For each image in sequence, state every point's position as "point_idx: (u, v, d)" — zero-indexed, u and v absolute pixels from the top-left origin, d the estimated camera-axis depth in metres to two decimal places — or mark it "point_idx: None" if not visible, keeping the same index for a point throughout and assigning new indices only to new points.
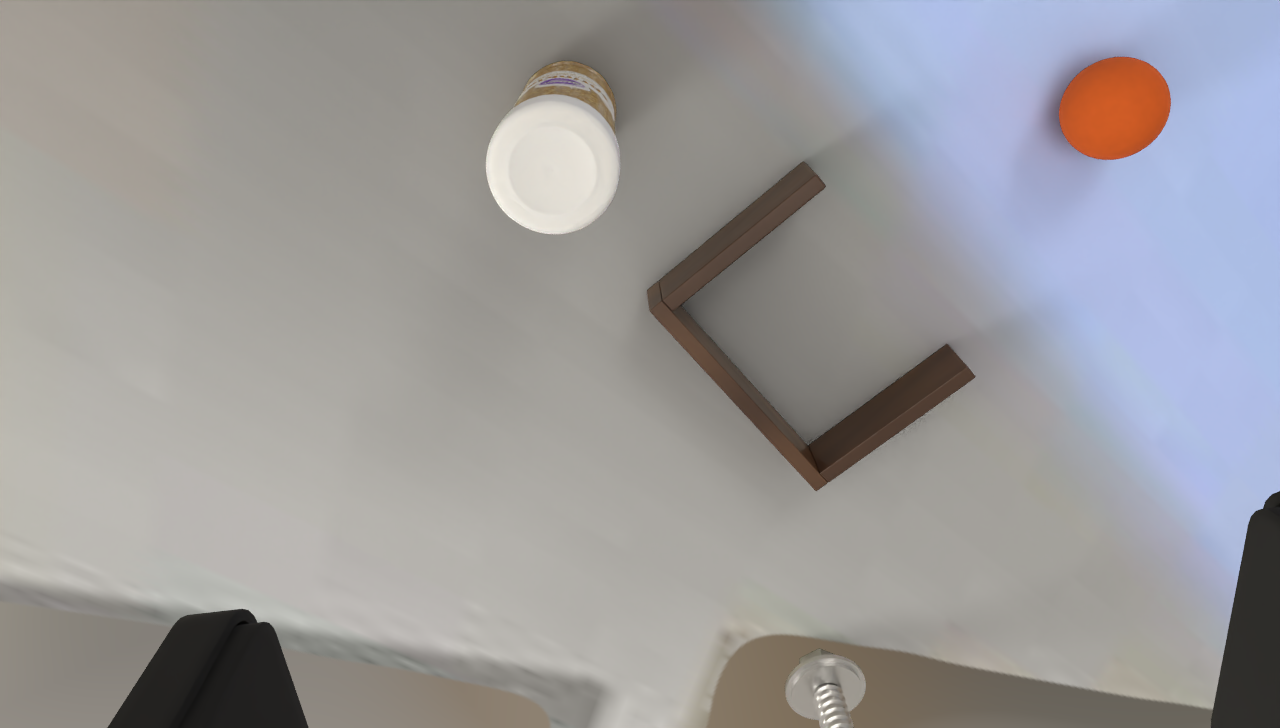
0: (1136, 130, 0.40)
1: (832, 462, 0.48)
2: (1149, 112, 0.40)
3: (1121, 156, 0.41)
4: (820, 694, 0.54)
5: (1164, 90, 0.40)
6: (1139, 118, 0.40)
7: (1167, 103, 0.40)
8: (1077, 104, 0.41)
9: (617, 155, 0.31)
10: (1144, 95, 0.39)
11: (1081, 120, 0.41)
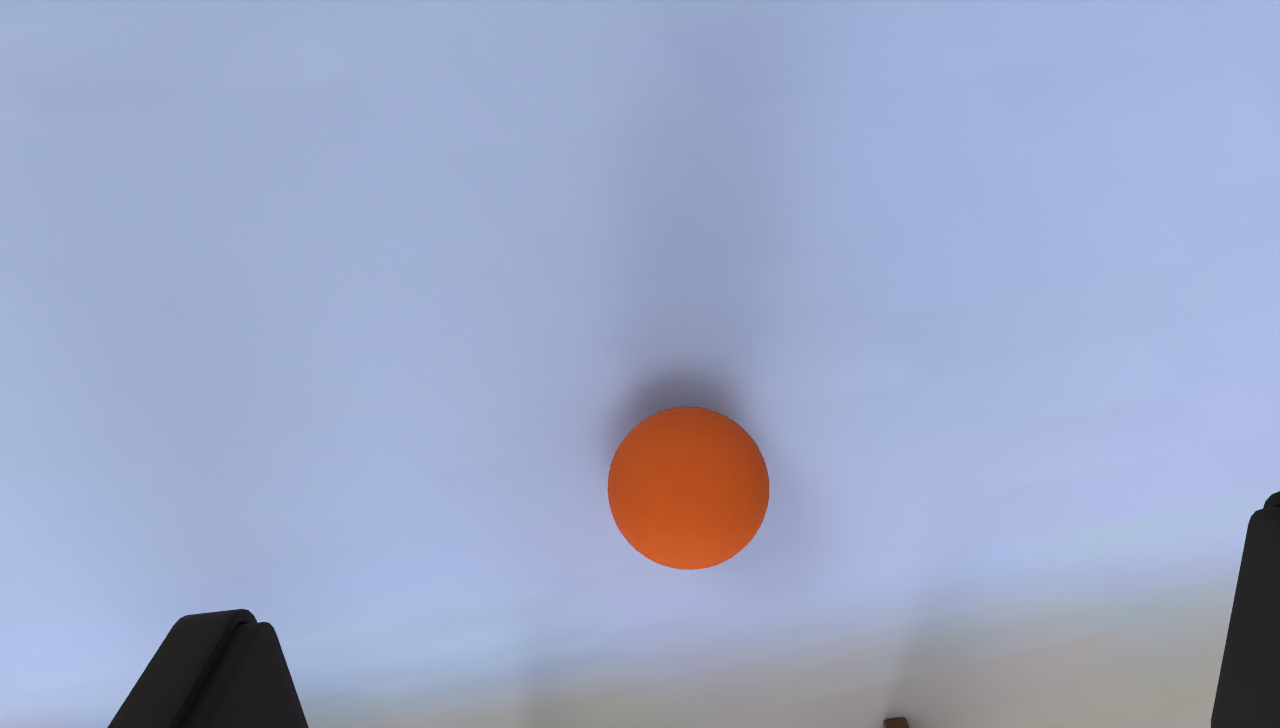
0: (715, 540, 0.24)
1: None
2: (700, 517, 0.23)
3: (753, 536, 0.25)
4: None
5: (689, 468, 0.24)
6: (699, 534, 0.24)
7: (711, 471, 0.24)
8: None
9: None
10: (670, 510, 0.23)
11: (661, 564, 0.25)
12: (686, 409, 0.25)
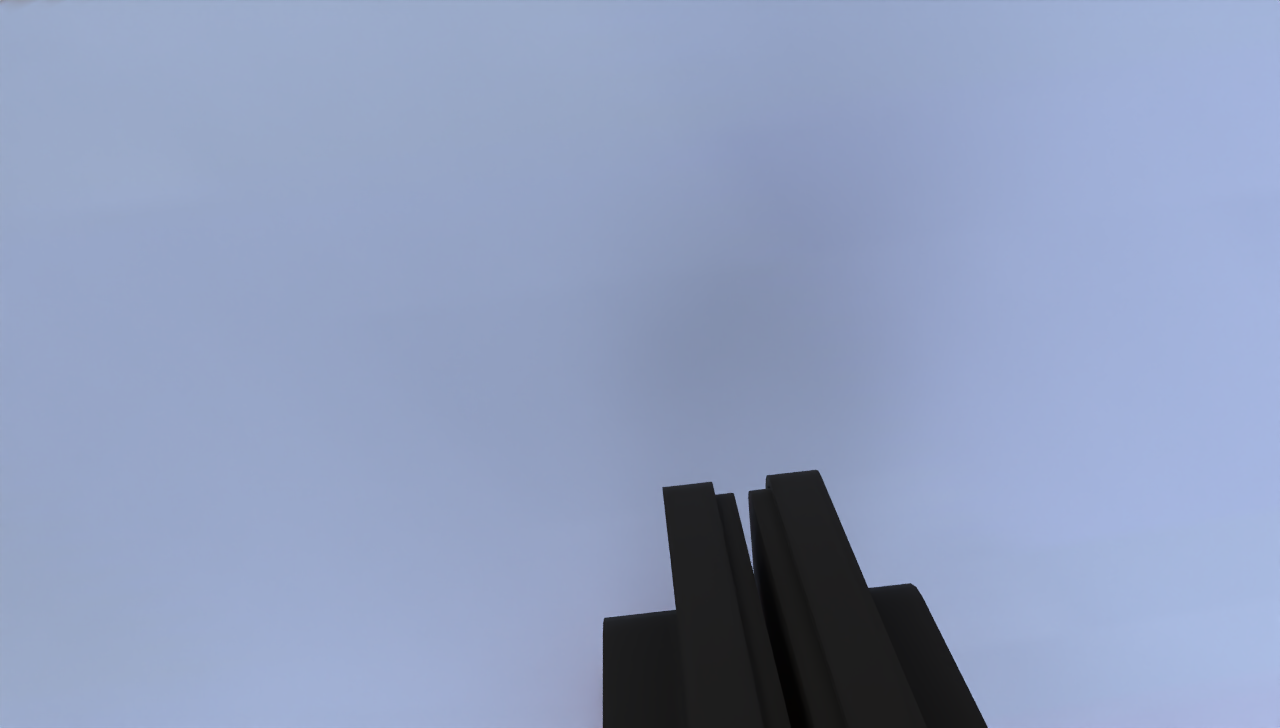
0: None
1: None
2: None
3: None
4: None
5: None
6: None
7: None
8: None
9: None
10: None
11: None
12: None
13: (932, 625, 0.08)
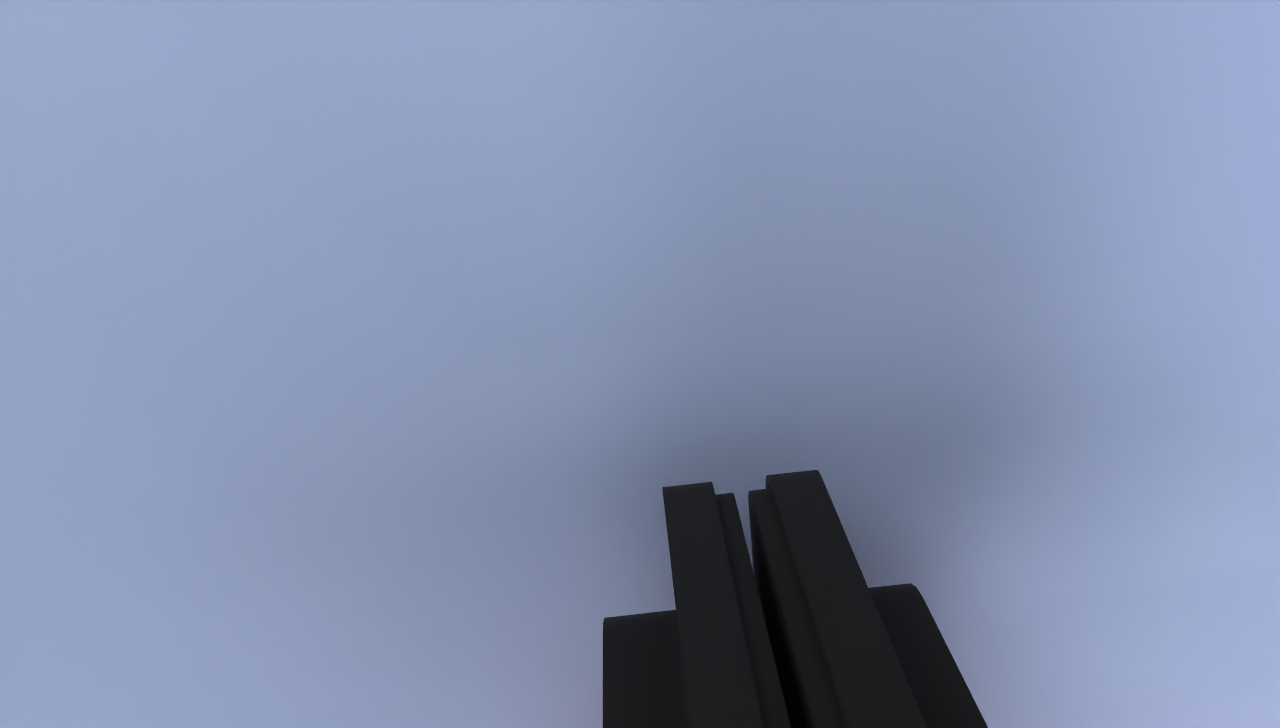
0: None
1: None
2: None
3: None
4: None
5: None
6: None
7: None
8: None
9: None
10: None
11: None
12: None
13: (932, 625, 0.08)
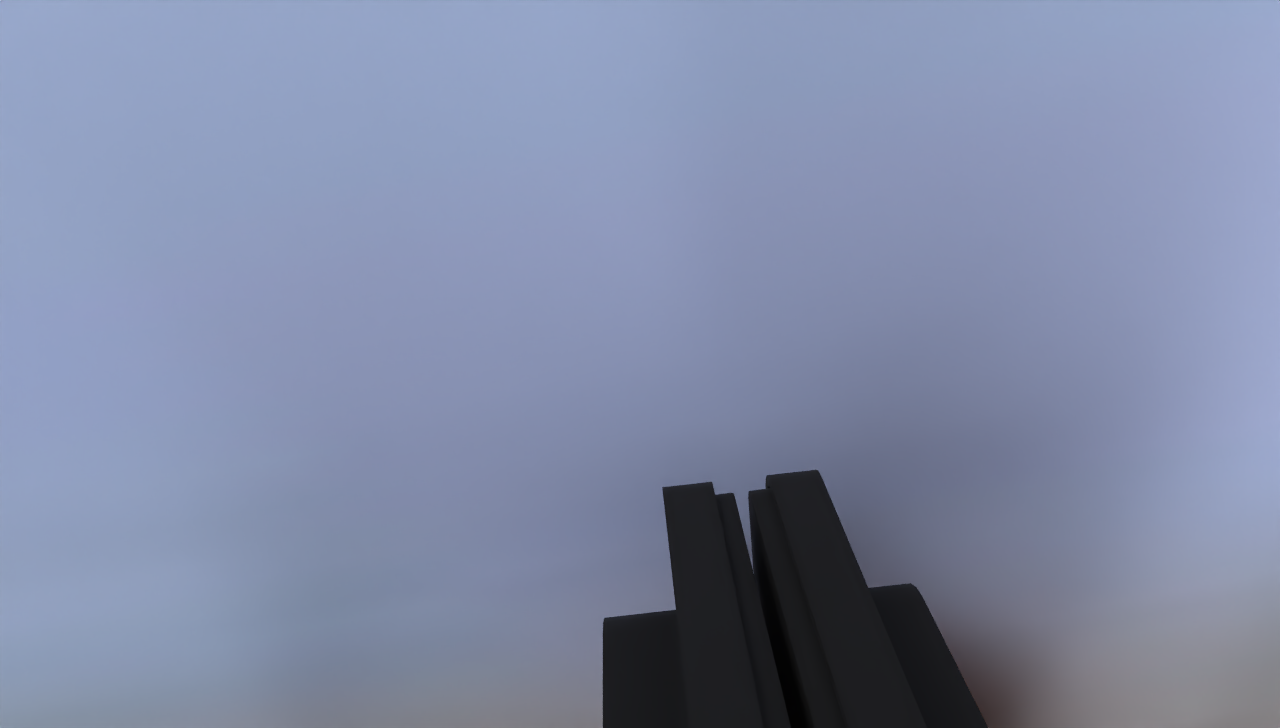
0: None
1: None
2: None
3: None
4: None
5: None
6: None
7: None
8: None
9: None
10: None
11: None
12: None
13: (932, 623, 0.08)
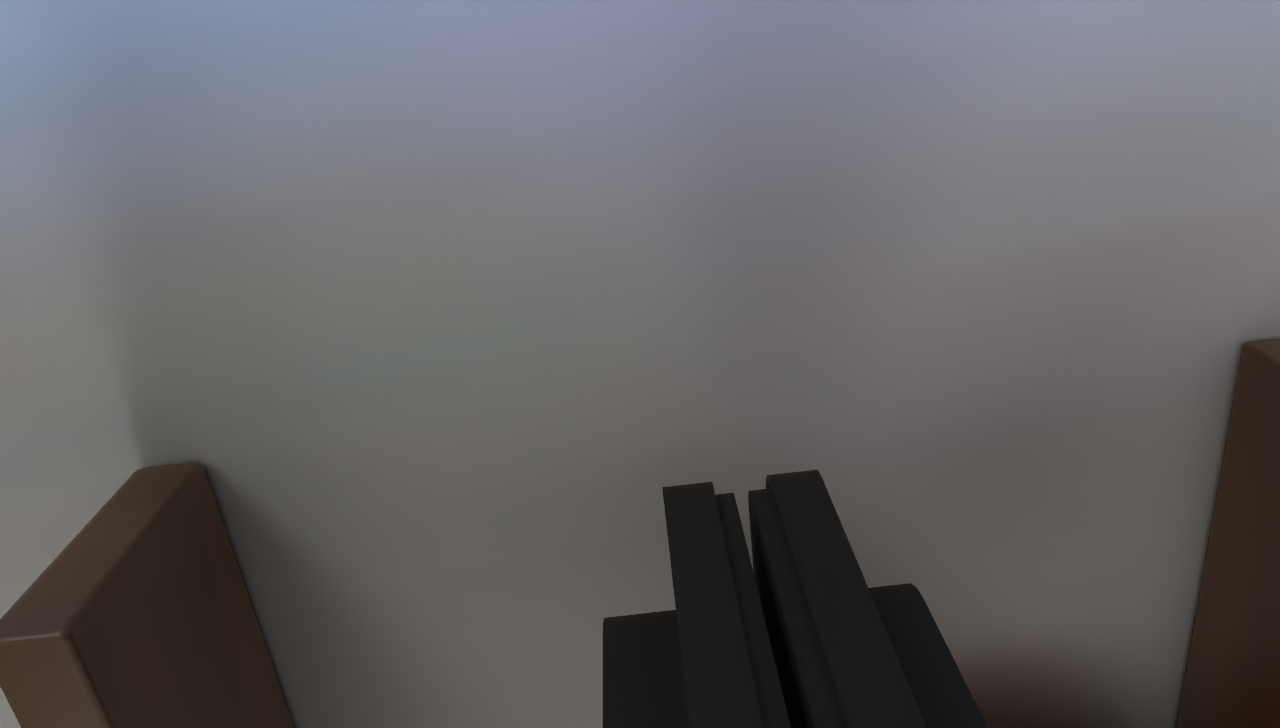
0: None
1: None
2: None
3: None
4: None
5: None
6: None
7: None
8: None
9: None
10: None
11: None
12: None
13: (933, 625, 0.08)
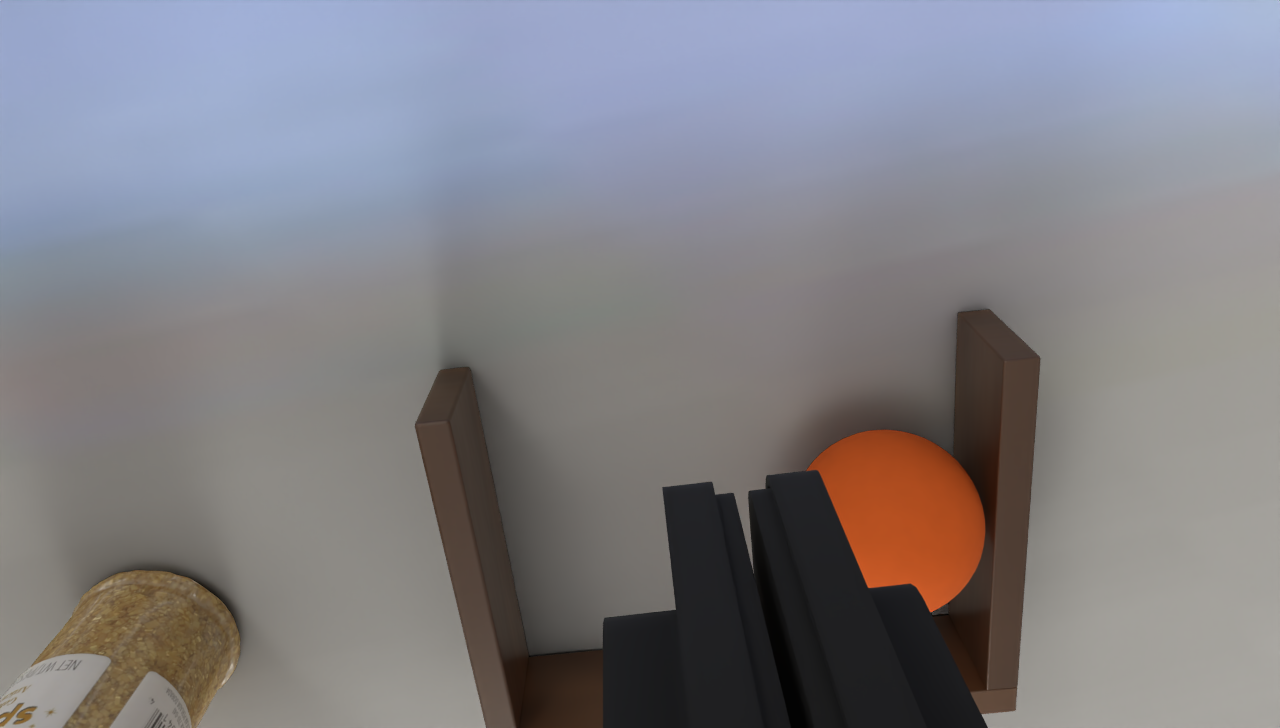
0: None
1: (986, 661, 0.23)
2: None
3: None
4: None
5: (941, 598, 0.21)
6: None
7: (958, 591, 0.21)
8: None
9: None
10: None
11: None
12: (943, 507, 0.20)
13: (932, 625, 0.08)
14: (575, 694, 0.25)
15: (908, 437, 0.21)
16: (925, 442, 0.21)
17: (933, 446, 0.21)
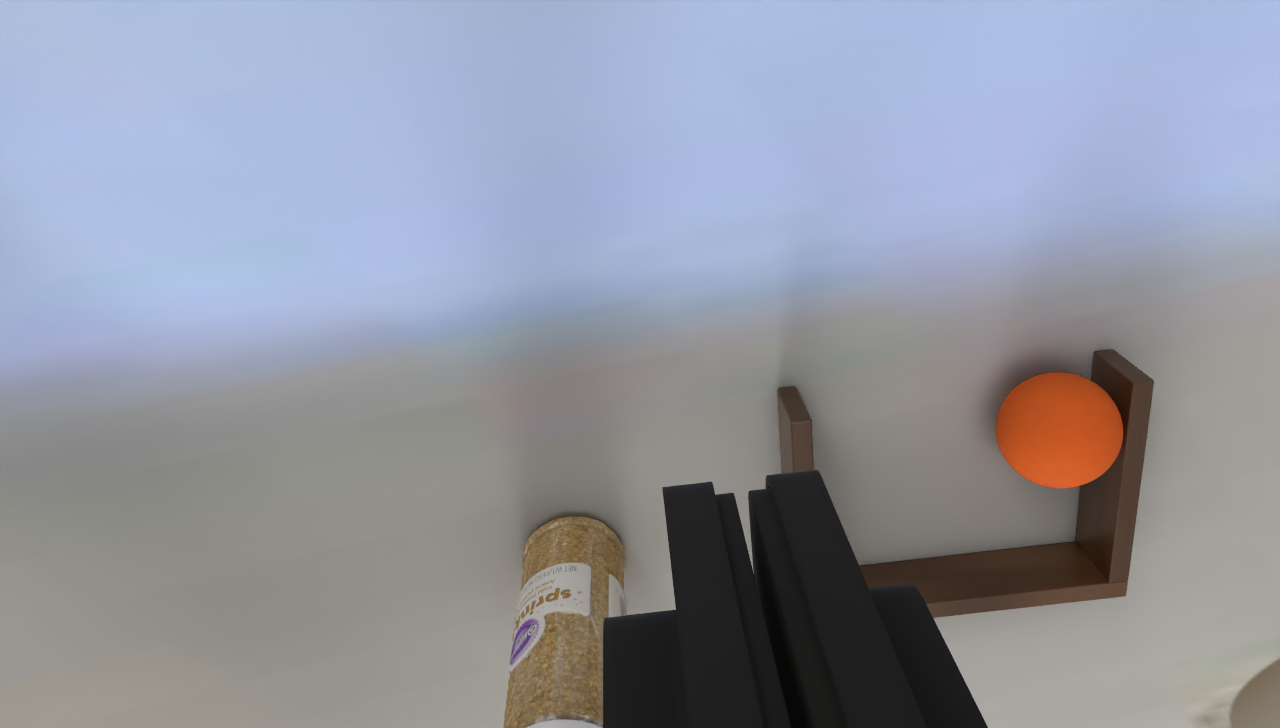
0: (1097, 472, 0.34)
1: (1110, 564, 0.38)
2: (1100, 455, 0.34)
3: None
4: None
5: (1102, 420, 0.34)
6: (1093, 466, 0.34)
7: (1113, 426, 0.34)
8: (1018, 466, 0.35)
9: None
10: (1084, 446, 0.33)
11: (1032, 479, 0.35)
12: (1081, 376, 0.35)
13: (932, 625, 0.08)
14: None
15: None
16: None
17: None
